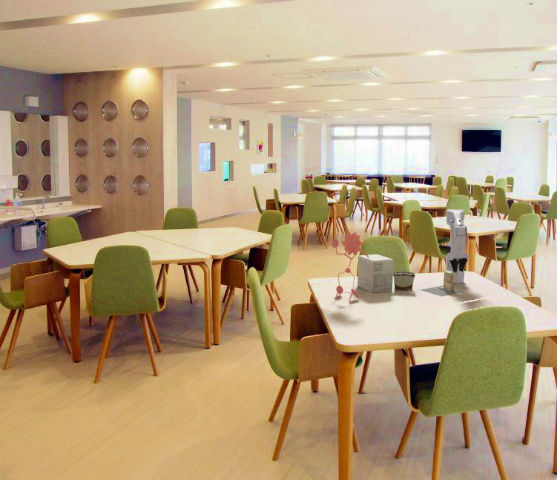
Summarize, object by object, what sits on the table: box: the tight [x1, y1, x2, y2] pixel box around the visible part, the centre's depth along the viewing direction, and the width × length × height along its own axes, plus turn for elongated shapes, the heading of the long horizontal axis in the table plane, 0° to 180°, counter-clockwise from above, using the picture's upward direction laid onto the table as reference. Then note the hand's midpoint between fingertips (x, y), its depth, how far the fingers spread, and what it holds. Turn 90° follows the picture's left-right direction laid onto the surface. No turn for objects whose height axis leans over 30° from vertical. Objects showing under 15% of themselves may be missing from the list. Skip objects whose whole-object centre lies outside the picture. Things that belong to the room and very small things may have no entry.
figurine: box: [331, 231, 369, 304], centre depth 312 cm, size 15×26×35 cm, turn 43°
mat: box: [420, 285, 465, 297], centre depth 326 cm, size 18×16×2 cm
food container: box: [393, 270, 416, 292], centre depth 331 cm, size 12×6×10 cm, turn 84°
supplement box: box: [356, 253, 394, 294], centre depth 332 cm, size 17×13×18 cm
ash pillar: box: [442, 270, 455, 290], centre depth 327 cm, size 4×4×10 cm
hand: (458, 271), depth 330 cm, fingers open, 5 cm apart
